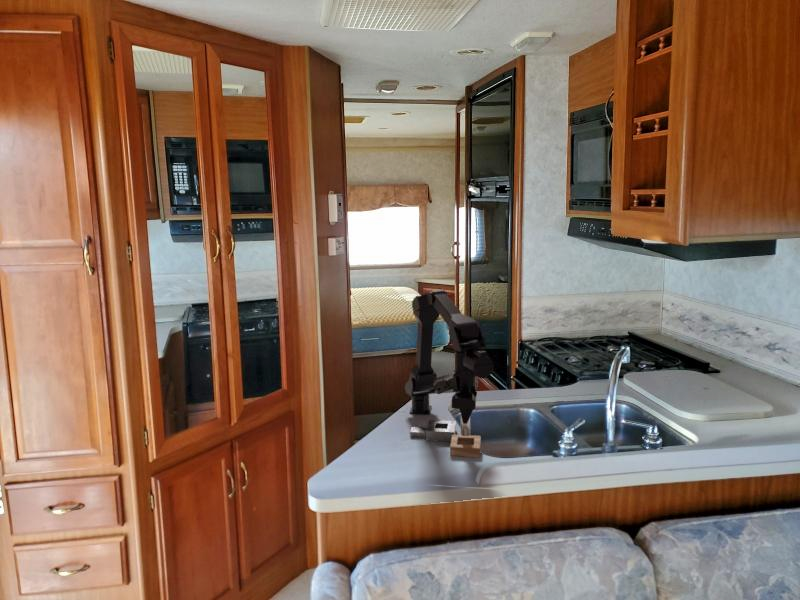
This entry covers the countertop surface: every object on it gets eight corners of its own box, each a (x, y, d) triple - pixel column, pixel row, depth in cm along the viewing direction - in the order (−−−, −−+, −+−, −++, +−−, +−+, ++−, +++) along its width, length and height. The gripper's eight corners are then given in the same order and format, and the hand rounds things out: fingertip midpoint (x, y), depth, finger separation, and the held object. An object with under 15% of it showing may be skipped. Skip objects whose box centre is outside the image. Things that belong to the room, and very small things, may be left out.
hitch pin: (460, 431, 169) (459, 400, 167) (471, 431, 168) (471, 400, 166) (459, 436, 166) (459, 404, 164) (471, 436, 165) (471, 405, 163)
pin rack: (452, 442, 172) (452, 434, 172) (480, 444, 171) (480, 435, 171) (450, 455, 165) (450, 447, 164) (479, 457, 163) (479, 448, 163)
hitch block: (413, 428, 183) (412, 419, 182) (456, 430, 180) (456, 421, 180) (409, 440, 175) (408, 430, 174) (454, 442, 173) (454, 432, 172)
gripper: (438, 355, 173) (439, 407, 176) (431, 377, 155) (432, 434, 158) (478, 356, 171) (477, 408, 175) (475, 378, 153) (475, 436, 157)
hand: (465, 421), depth 166 cm, fingers closed on hitch pin, 3 cm apart
